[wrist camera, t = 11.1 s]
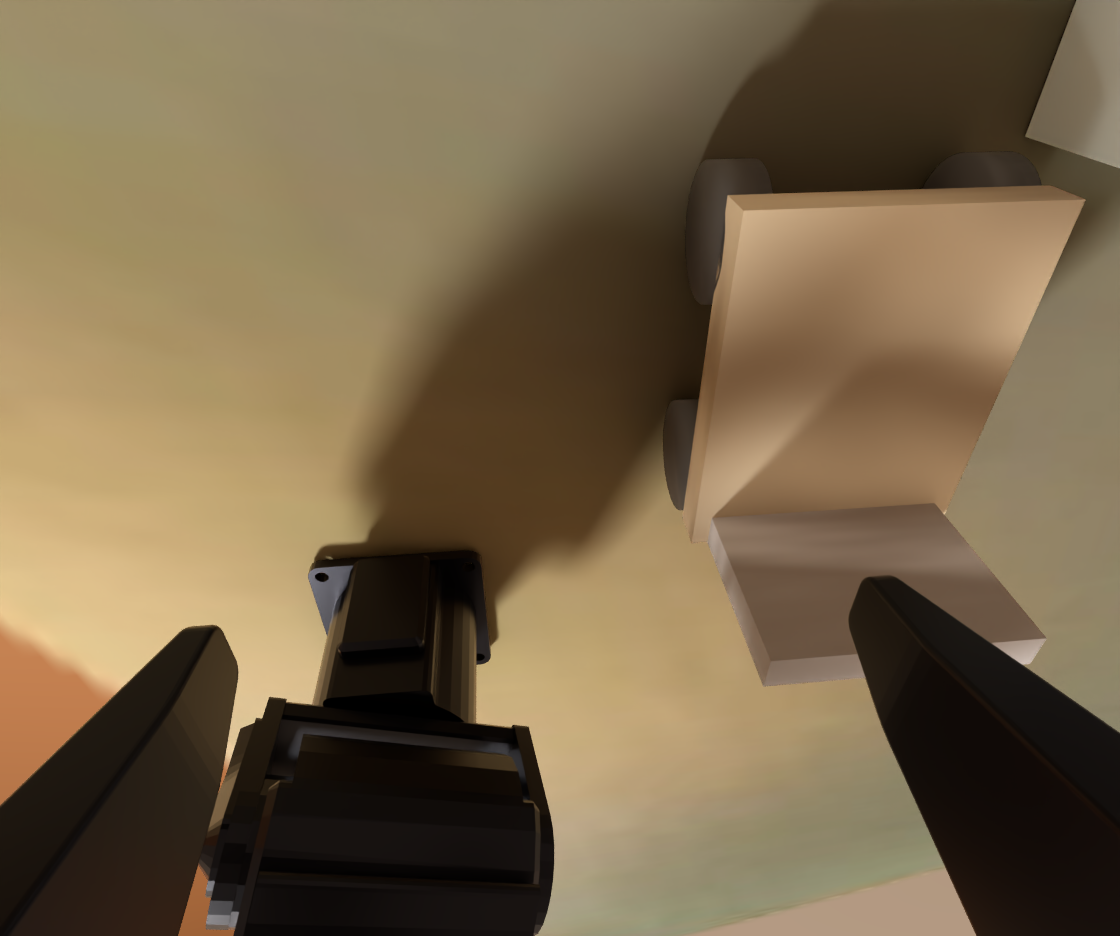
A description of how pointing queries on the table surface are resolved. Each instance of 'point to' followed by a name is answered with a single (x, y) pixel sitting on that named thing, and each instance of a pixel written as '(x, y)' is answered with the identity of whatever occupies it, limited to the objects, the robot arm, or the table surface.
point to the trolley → (853, 392)
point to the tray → (1084, 86)
